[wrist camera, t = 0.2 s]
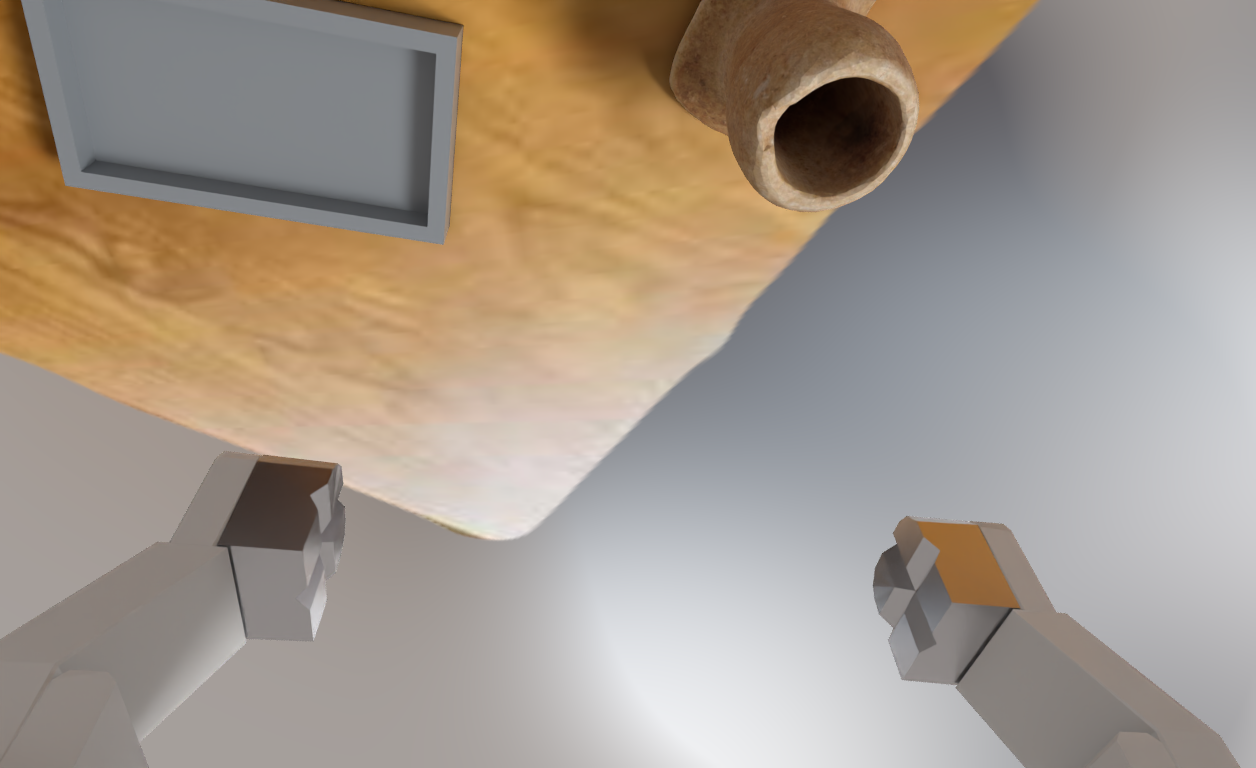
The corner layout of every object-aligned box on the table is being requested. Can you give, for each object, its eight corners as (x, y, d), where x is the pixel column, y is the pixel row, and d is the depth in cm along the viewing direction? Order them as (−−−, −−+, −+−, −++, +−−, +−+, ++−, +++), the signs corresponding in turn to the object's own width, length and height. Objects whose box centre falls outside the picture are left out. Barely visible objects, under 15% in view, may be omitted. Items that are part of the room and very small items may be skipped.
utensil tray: (38, -59, 48) (9, -50, 45) (463, 25, 52) (457, 37, 49) (87, 168, 56) (65, 185, 54) (449, 225, 60) (443, 244, 58)
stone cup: (784, 165, 58) (833, 267, 46) (644, 82, 54) (659, 170, 42) (930, -35, 50) (1034, 26, 39) (780, -149, 46) (844, -121, 35)
